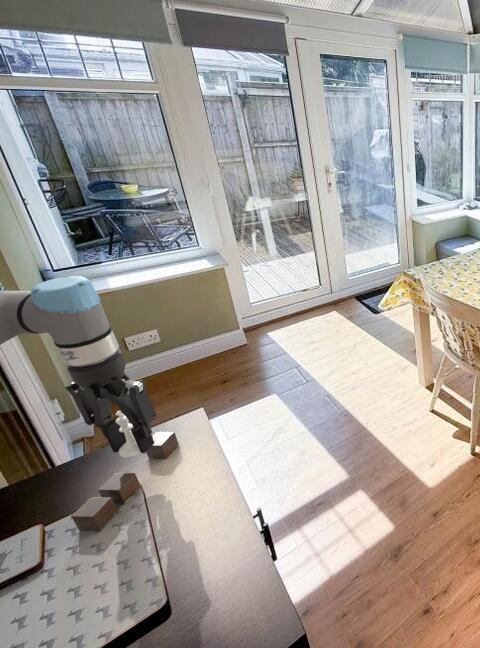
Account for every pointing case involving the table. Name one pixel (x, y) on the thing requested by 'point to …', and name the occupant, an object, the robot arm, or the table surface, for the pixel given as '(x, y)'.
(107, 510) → the walnut block
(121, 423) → the chess piece
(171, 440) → the walnut block
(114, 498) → the walnut block
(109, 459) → the table surface
